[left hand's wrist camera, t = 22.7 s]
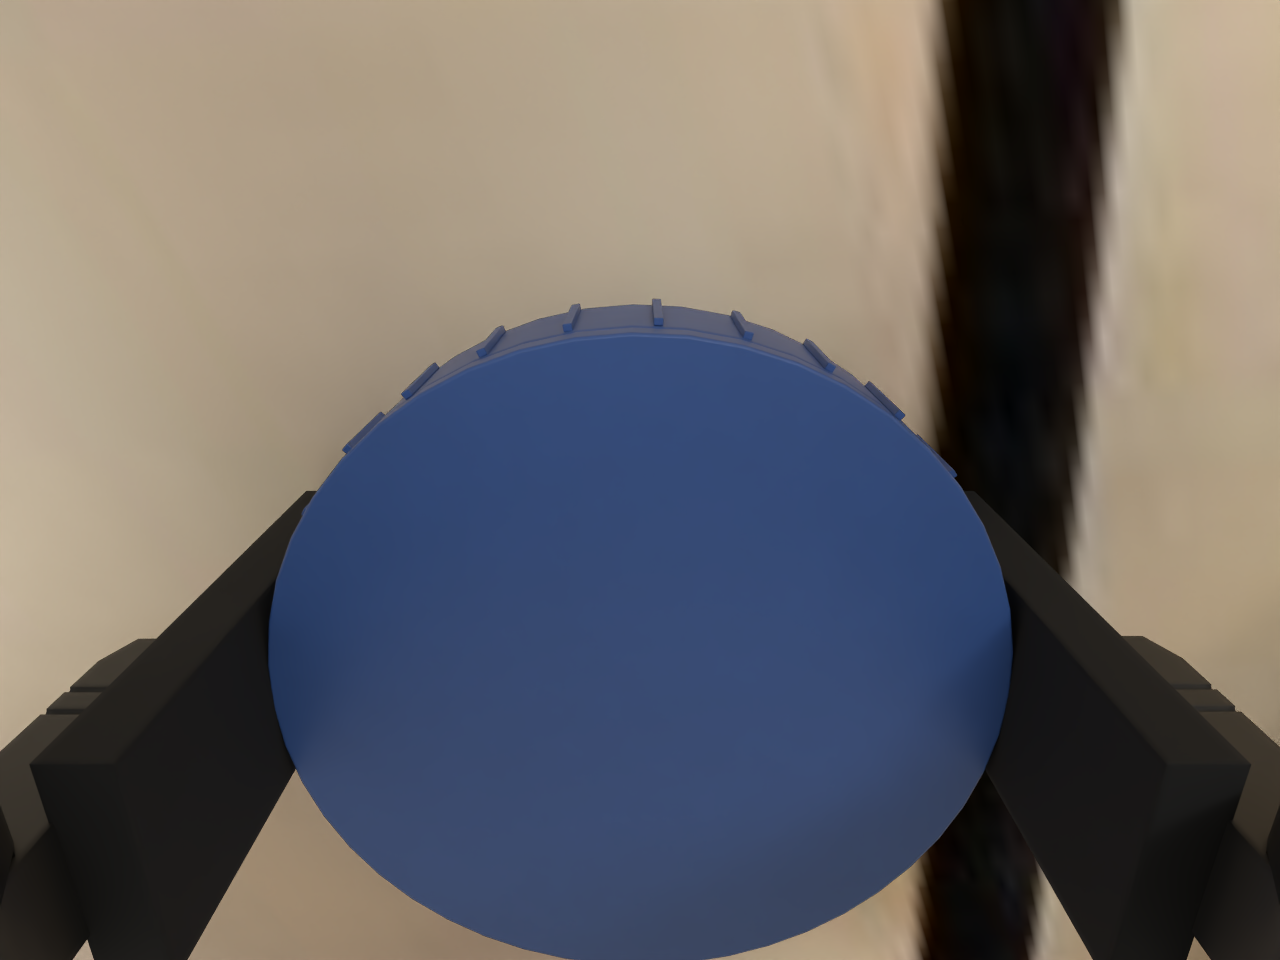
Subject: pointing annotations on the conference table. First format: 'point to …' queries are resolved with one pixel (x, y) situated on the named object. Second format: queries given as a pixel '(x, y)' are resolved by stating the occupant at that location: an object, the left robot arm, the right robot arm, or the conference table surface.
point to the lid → (640, 638)
